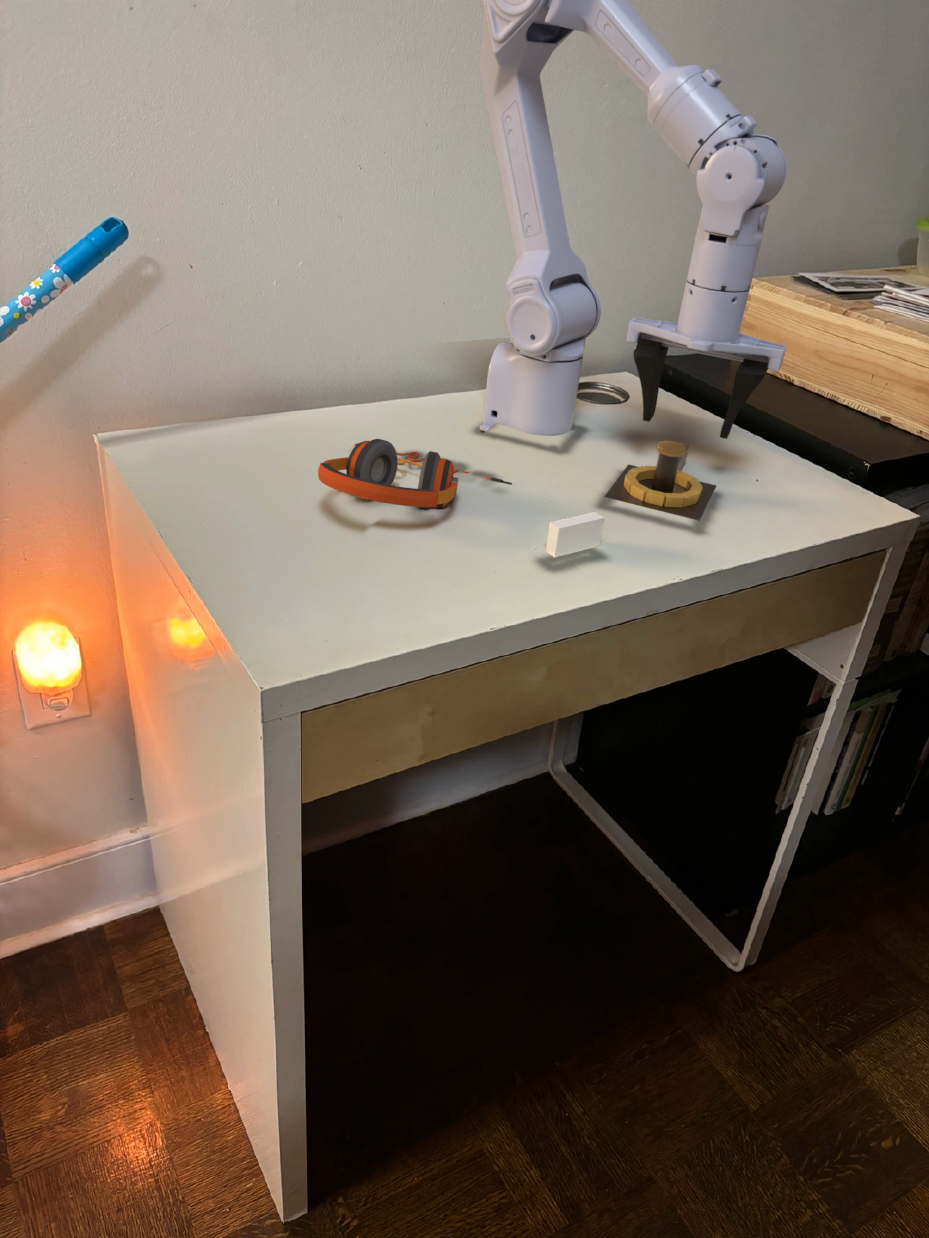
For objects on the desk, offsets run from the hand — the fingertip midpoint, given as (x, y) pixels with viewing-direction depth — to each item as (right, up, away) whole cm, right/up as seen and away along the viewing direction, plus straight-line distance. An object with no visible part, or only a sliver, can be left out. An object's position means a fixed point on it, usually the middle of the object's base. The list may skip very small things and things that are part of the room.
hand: (686, 426), depth 91 cm
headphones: (-27, -8, -7) cm, 29 cm away
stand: (-3, -8, -2) cm, 9 cm away
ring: (-2, -6, -1) cm, 6 cm away
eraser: (-13, -14, -14) cm, 24 cm away
